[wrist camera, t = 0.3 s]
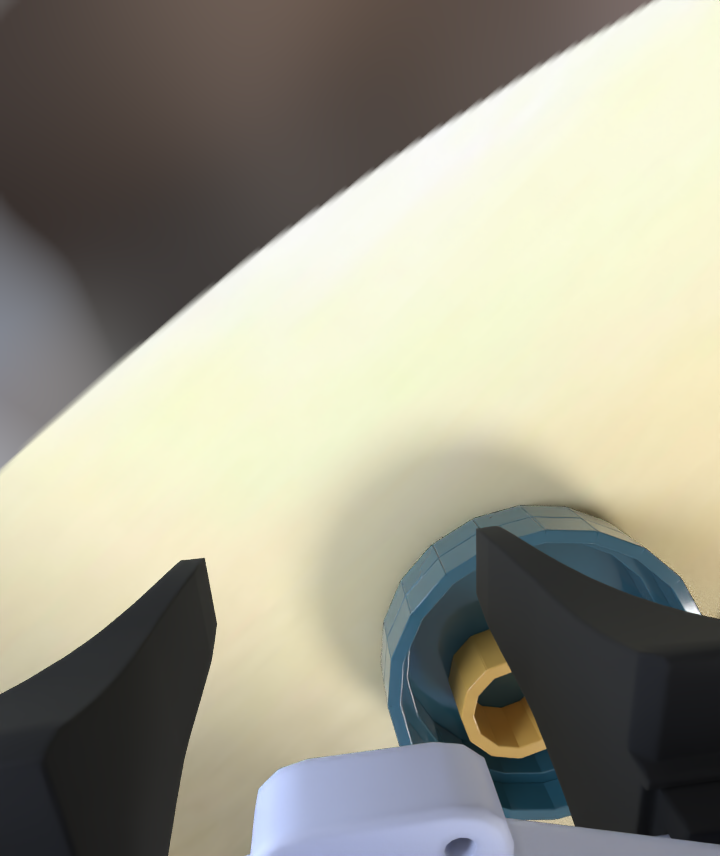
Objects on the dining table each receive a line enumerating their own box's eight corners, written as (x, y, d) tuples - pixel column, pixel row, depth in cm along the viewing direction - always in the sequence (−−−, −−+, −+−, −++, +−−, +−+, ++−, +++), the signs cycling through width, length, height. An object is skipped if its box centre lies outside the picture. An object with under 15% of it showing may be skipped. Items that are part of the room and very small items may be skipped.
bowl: (586, 788, 28) (621, 851, 25) (339, 717, 27) (341, 775, 23) (708, 556, 26) (765, 591, 23) (447, 460, 24) (466, 483, 21)
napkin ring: (536, 720, 27) (558, 762, 24) (440, 711, 26) (453, 753, 24) (558, 632, 26) (583, 666, 23) (459, 621, 25) (474, 654, 23)
